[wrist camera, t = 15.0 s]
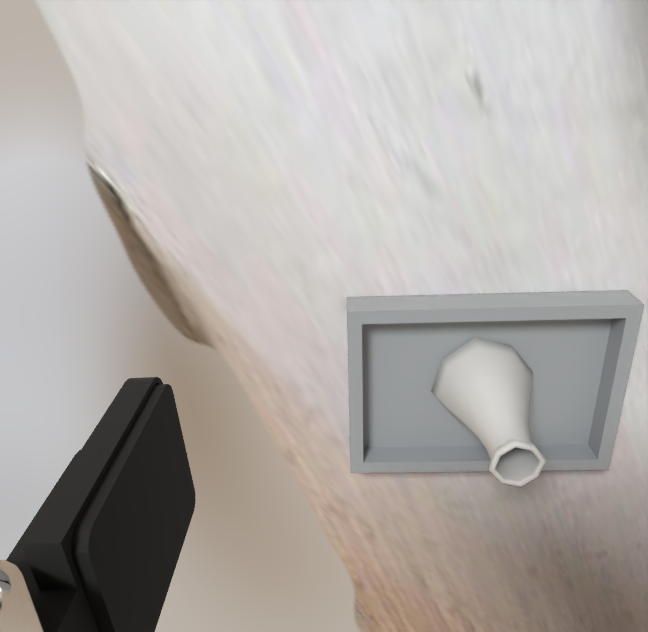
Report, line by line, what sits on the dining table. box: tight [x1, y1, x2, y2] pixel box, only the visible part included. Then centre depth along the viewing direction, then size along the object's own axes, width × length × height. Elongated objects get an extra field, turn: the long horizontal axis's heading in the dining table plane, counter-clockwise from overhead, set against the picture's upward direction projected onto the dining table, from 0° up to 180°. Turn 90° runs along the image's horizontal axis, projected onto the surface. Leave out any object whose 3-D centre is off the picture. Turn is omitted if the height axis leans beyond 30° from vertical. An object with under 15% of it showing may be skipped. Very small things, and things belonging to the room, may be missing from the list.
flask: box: [431, 338, 546, 487], centre depth 39 cm, size 7×7×10 cm
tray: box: [347, 290, 644, 473], centre depth 43 cm, size 14×20×2 cm
